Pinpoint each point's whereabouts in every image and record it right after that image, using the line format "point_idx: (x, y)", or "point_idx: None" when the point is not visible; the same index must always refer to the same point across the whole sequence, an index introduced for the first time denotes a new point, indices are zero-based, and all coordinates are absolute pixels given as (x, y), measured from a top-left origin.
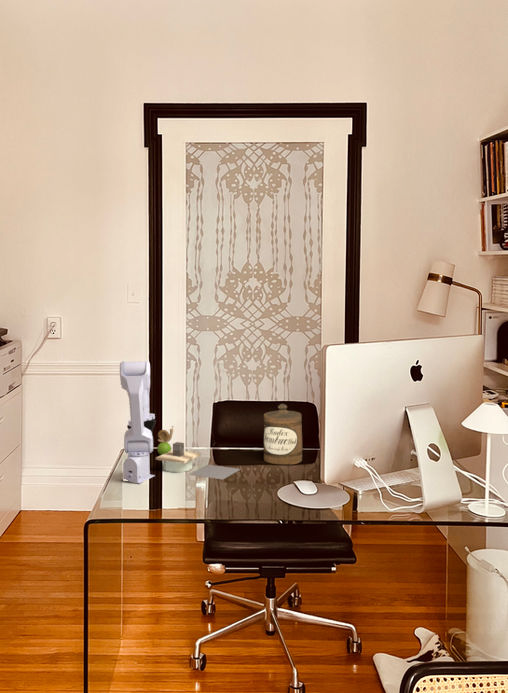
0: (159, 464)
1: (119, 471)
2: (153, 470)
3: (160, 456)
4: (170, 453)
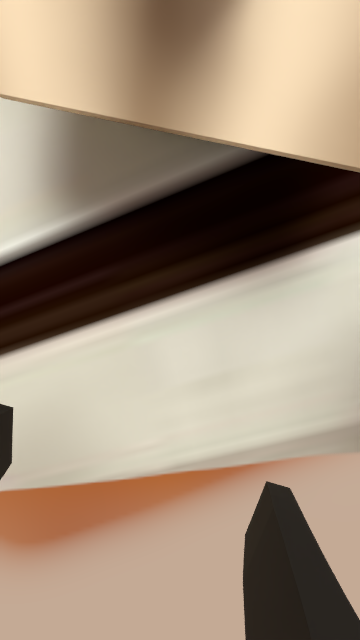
0: (120, 235)
1: (337, 443)
2: (286, 222)
3: (322, 127)
4: (152, 45)
